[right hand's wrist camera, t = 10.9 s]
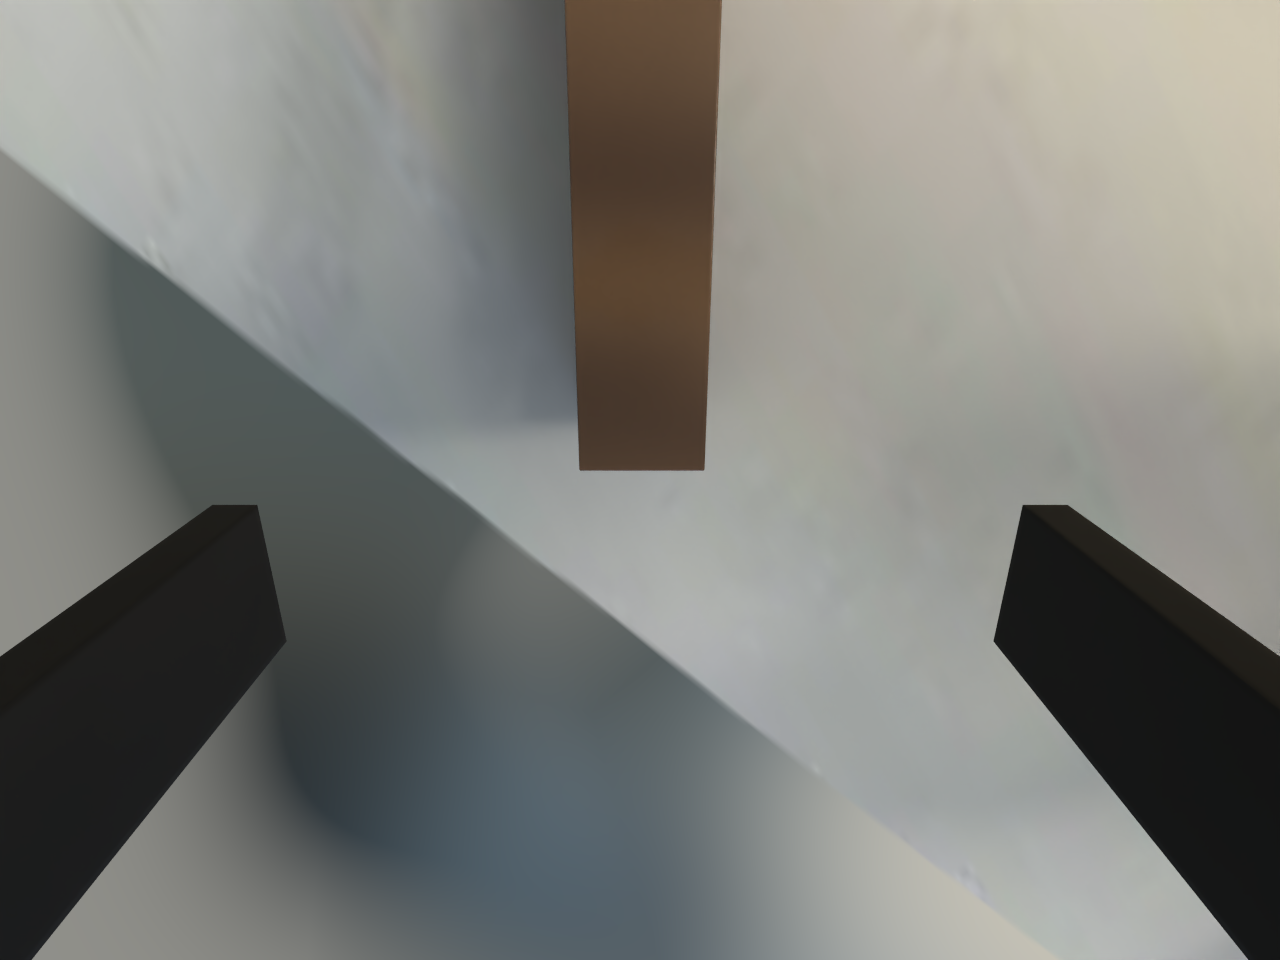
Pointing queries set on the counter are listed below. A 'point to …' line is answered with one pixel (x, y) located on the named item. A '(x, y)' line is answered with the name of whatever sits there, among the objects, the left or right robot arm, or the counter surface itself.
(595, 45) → the bar
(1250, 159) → the counter surface
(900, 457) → the counter surface
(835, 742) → the counter surface
